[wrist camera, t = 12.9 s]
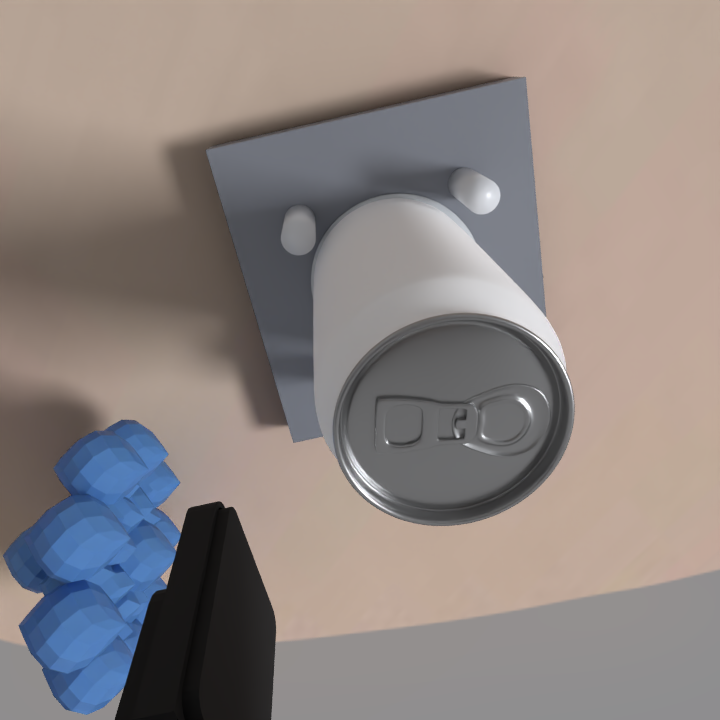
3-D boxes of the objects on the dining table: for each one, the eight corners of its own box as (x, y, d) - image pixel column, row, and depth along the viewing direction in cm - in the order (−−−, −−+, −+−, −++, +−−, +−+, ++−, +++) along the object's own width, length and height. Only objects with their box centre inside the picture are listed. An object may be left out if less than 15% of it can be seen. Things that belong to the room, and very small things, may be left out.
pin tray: (211, 146, 24) (191, 160, 20) (513, 77, 24) (555, 76, 20) (294, 426, 30) (291, 481, 25) (540, 372, 29) (577, 419, 25)
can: (465, 348, 27) (571, 535, 16) (315, 351, 26) (316, 546, 15) (478, 194, 24) (617, 292, 13) (311, 195, 23) (309, 296, 13)
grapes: (40, 357, 27) (-141, 542, 16) (197, 361, 28) (123, 542, 17) (74, 561, 32) (-49, 811, 21) (207, 562, 33) (154, 804, 22)
